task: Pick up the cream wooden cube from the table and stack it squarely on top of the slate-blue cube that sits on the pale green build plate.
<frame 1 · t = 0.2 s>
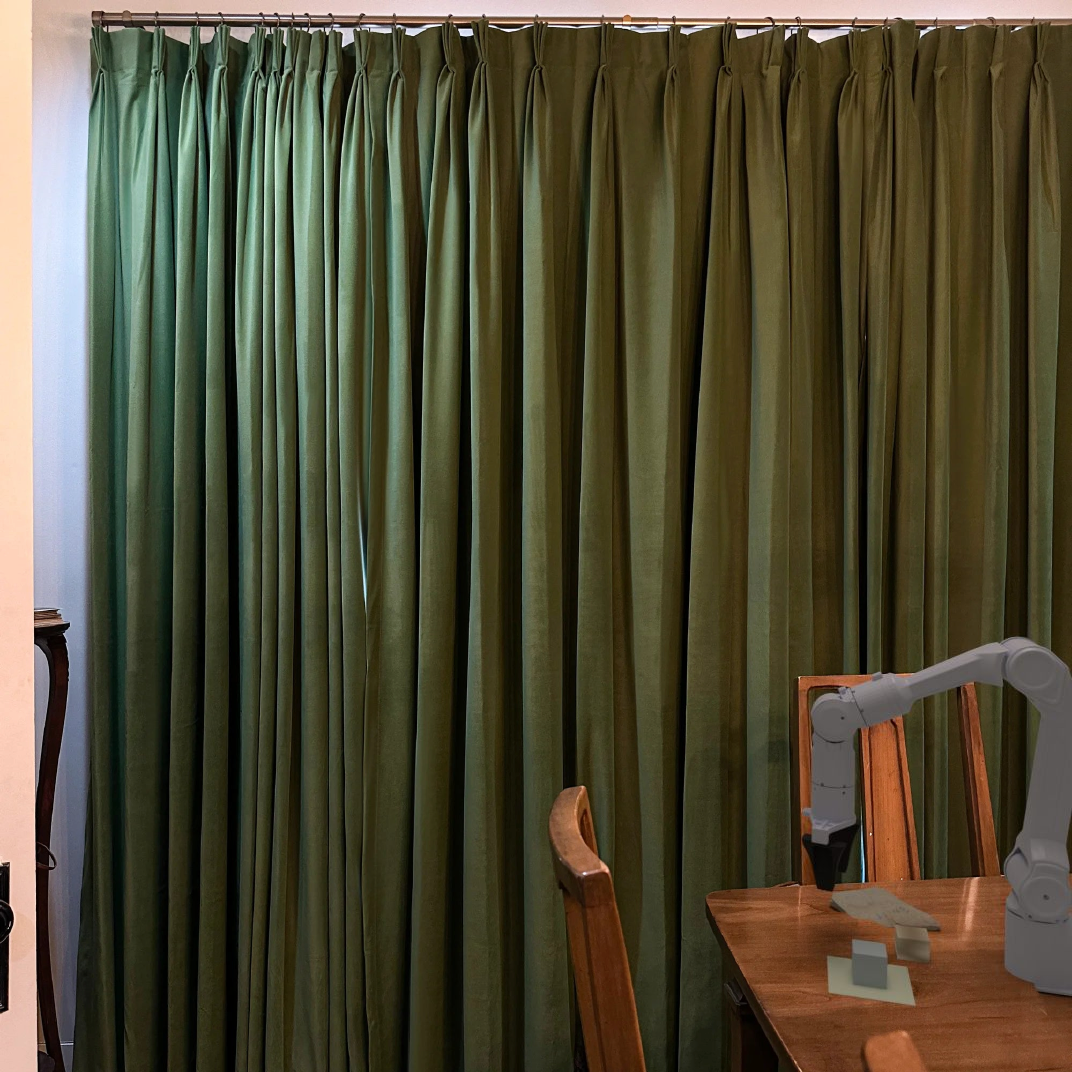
hand: (832, 880, 126), 10 cm above the table, tool pointing down, fingers open, 7 cm apart
stone: (880, 919, 137), on the table
cream cube: (911, 962, 123), on the table
build plate: (868, 987, 116), on the table
slate cube: (868, 979, 116), point 1 cm above the table, touching build plate
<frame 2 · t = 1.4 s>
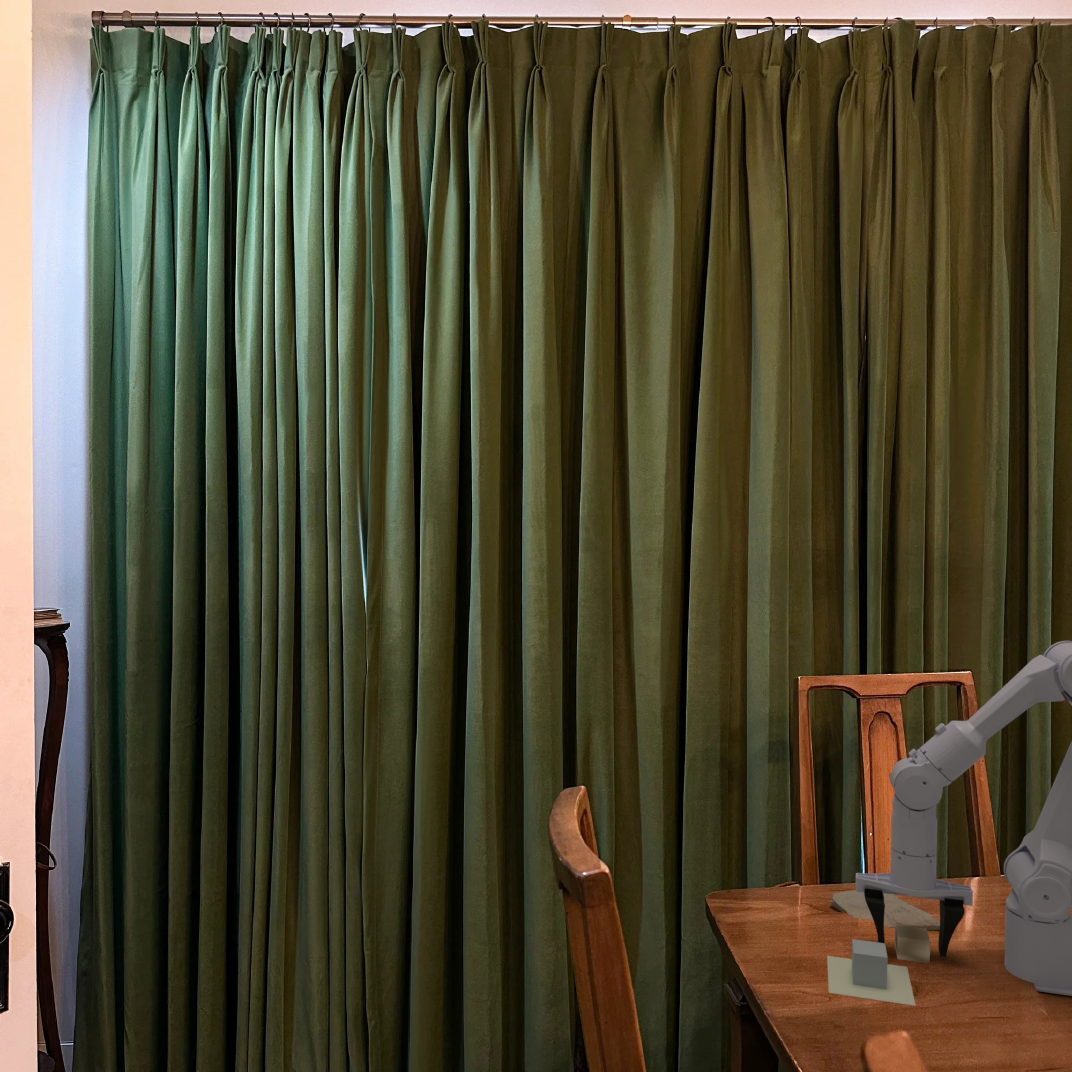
hand: (911, 949, 123), 2 cm above the table, tool pointing down, fingers open, 7 cm apart
nothing on the table moved.
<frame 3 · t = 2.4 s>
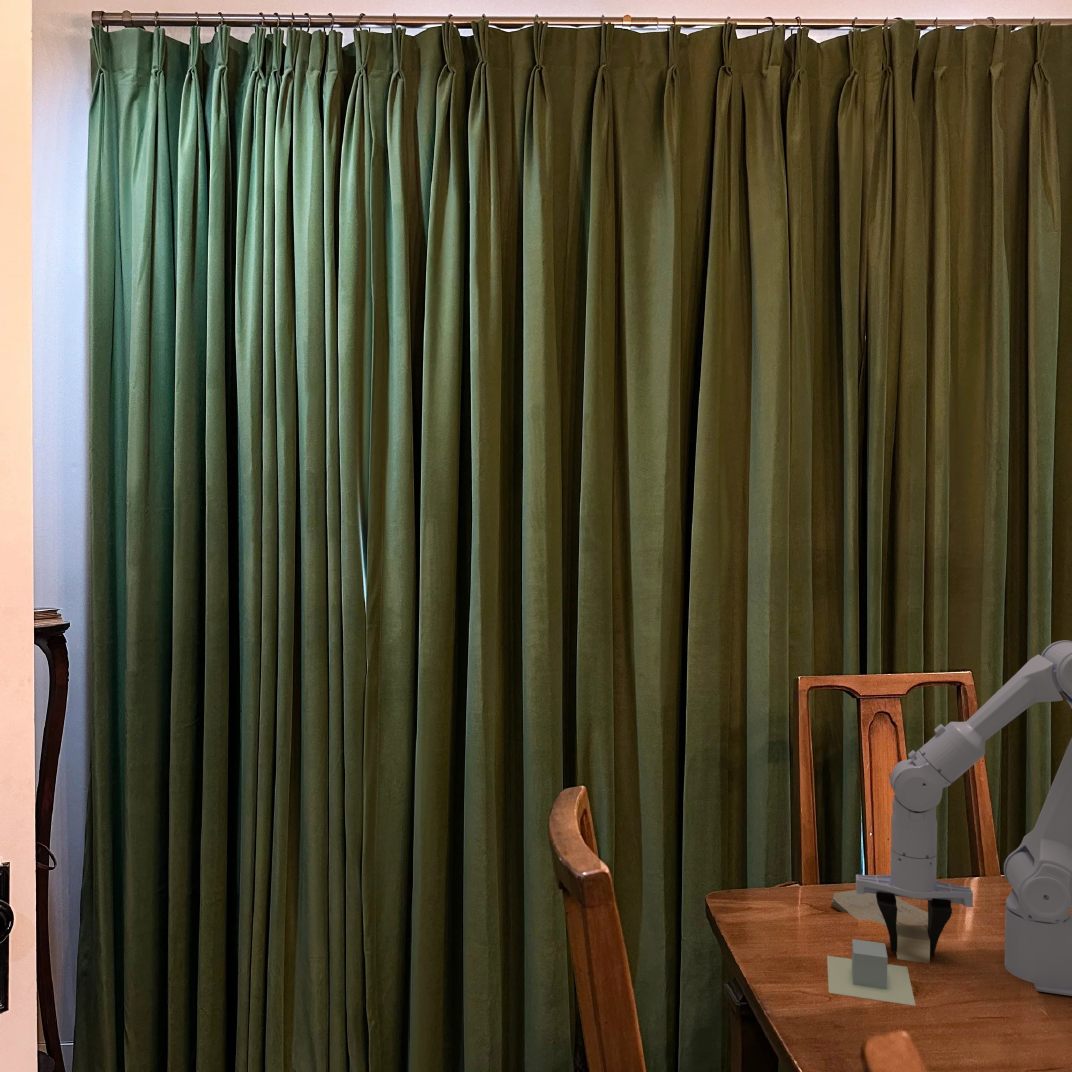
hand: (911, 951, 123), 1 cm above the table, tool pointing down, fingers closed on cream cube, 4 cm apart
cream cube: (911, 961, 123), on the table, touching gripper
everything else where it was.
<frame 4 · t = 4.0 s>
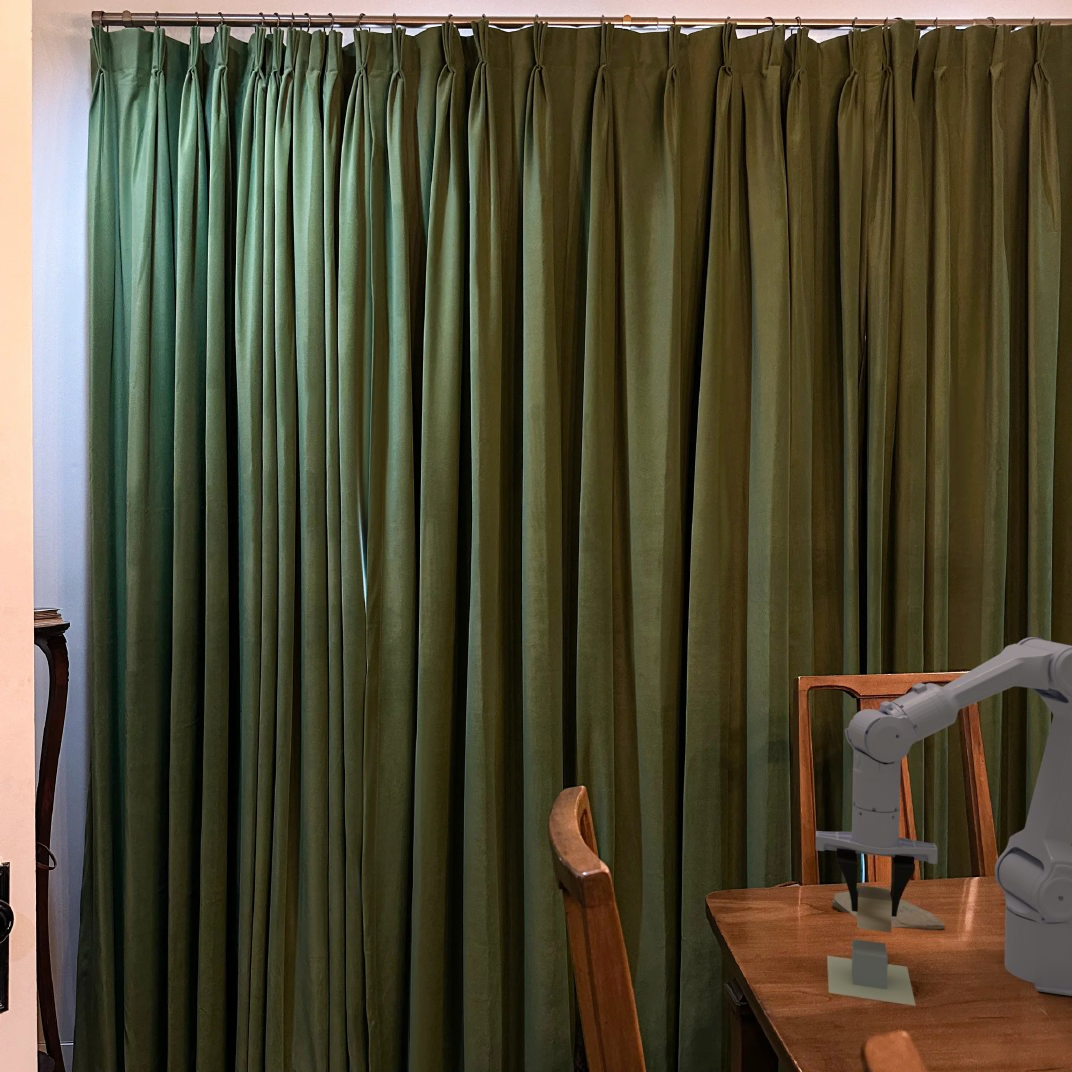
hand: (873, 910, 117), 9 cm above the table, tool pointing down, fingers closed on cream cube, 4 cm apart
cream cube: (873, 923, 117), point 8 cm above the table, touching gripper
everything else where it was.
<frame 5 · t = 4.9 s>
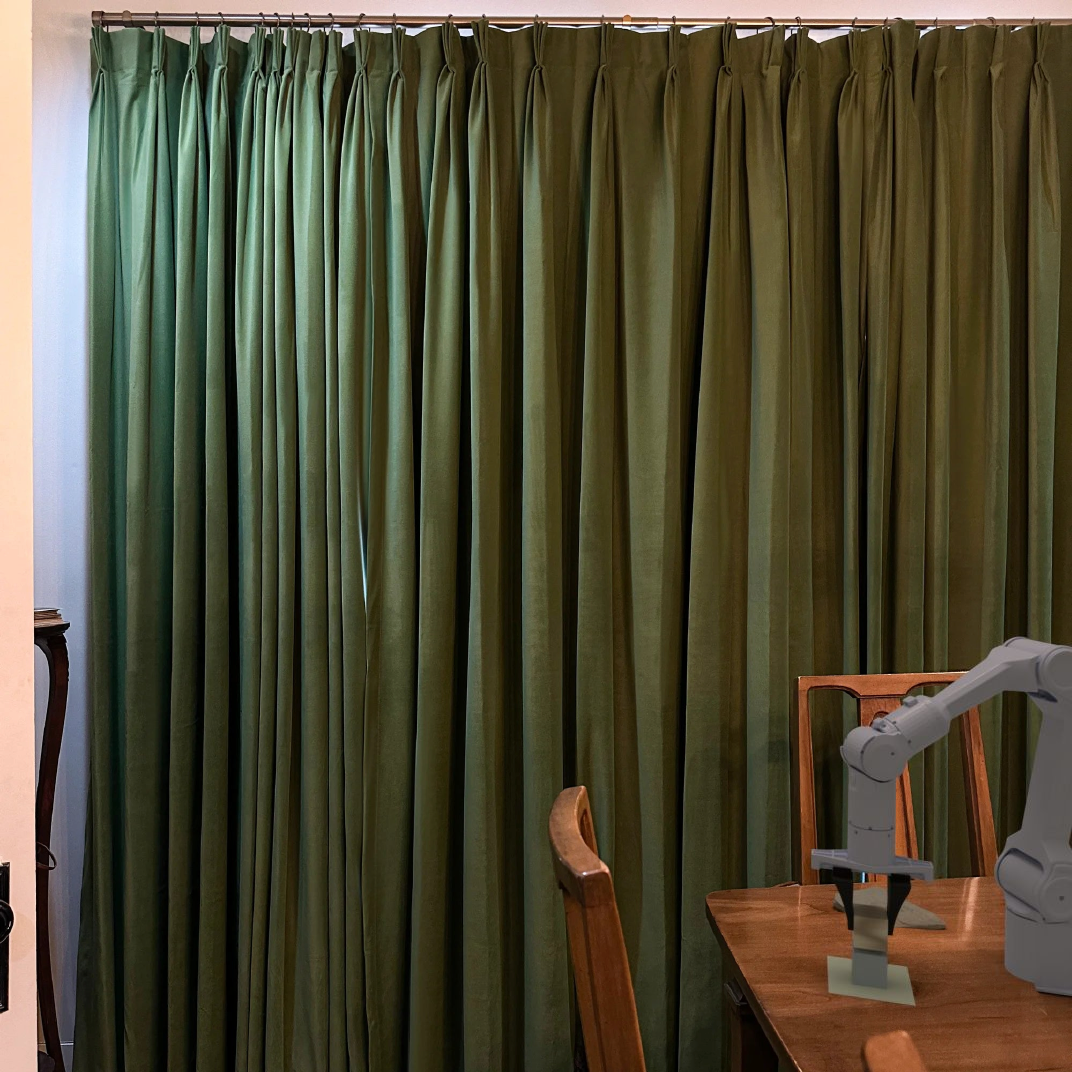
hand: (869, 929, 116), 7 cm above the table, tool pointing down, fingers closed on cream cube, 4 cm apart
cream cube: (869, 942, 116), point 6 cm above the table, touching gripper
everything else where it was.
when the fingers open (7 cm above the table, at t = 5.7 s): cream cube stays where it is, resting on slate cube.
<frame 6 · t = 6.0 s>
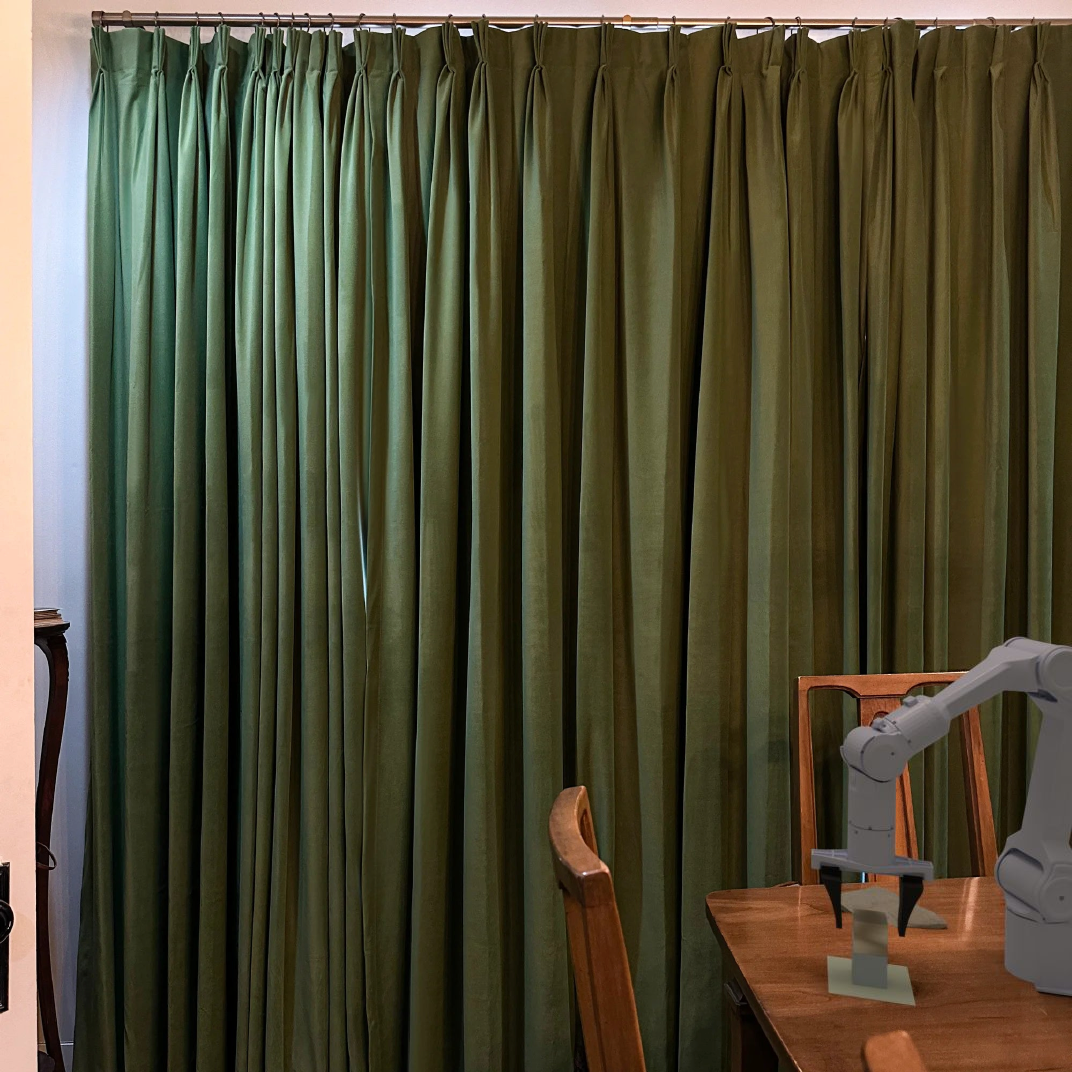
hand: (869, 929, 116), 7 cm above the table, tool pointing down, fingers open, 7 cm apart
cream cube: (869, 947, 116), point 5 cm above the table, touching slate cube
slate cube: (868, 979, 116), point 1 cm above the table, touching build plate, cream cube
everything else where it was.
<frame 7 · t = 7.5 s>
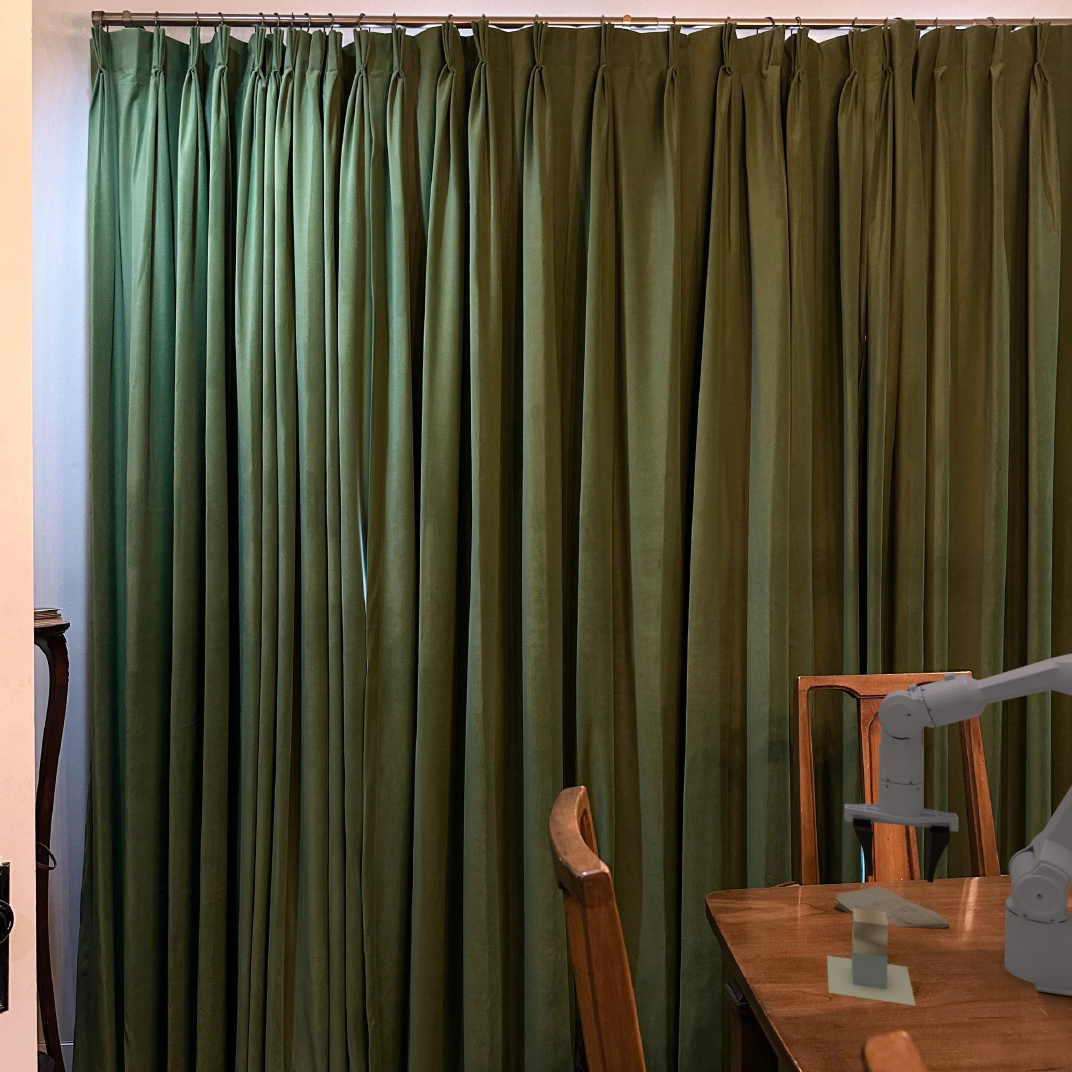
hand: (899, 876, 126), 10 cm above the table, tool pointing down, fingers open, 7 cm apart
nothing on the table moved.
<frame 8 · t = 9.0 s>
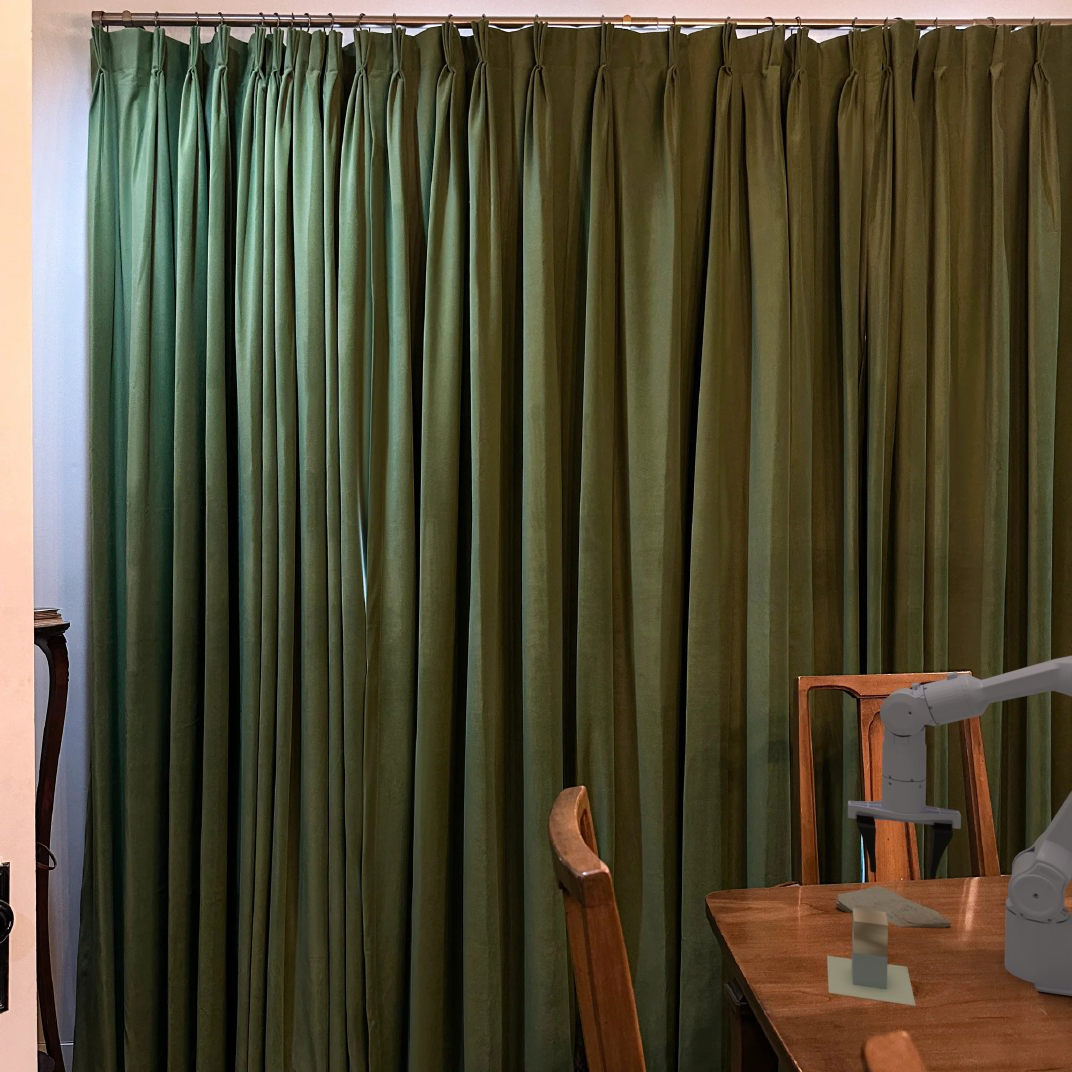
hand: (902, 873, 127), 10 cm above the table, tool pointing down, fingers open, 7 cm apart
at the end: cream cube 0.2 cm off-centre on the slate cube, point 4.0 cm above the slate cube's base; cream cube tilted 0°; slate cube moved 0.0 cm from its start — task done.
